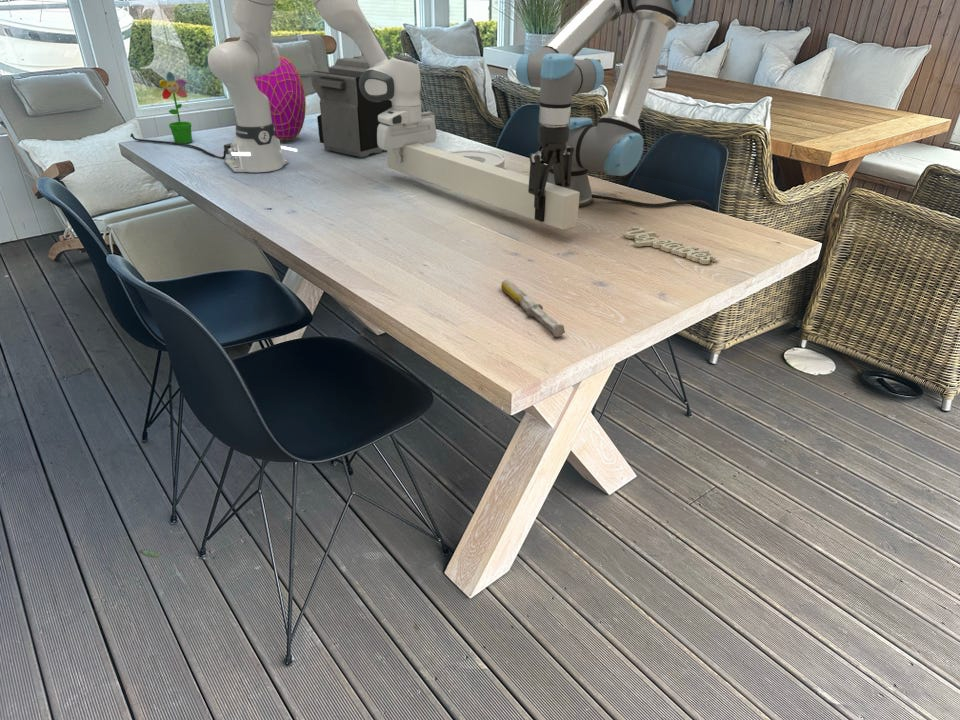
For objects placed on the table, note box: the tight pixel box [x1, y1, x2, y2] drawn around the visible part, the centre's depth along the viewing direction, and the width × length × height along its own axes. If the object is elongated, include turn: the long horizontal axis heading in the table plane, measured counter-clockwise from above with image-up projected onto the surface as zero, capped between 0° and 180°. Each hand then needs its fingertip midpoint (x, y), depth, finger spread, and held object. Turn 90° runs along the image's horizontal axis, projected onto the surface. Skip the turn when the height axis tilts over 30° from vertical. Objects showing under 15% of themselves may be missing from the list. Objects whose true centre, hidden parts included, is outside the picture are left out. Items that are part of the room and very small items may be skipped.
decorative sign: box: [624, 226, 717, 265], centre depth 170 cm, size 26×1×10 cm
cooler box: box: [310, 55, 392, 159], centre depth 250 cm, size 37×22×30 cm, turn 144°
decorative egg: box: [254, 55, 307, 142], centre depth 257 cm, size 19×19×30 cm
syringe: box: [500, 279, 566, 338], centre depth 139 cm, size 25×4×3 cm, turn 21°
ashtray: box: [449, 149, 505, 169], centre depth 228 cm, size 23×23×4 cm
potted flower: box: [158, 71, 193, 144], centre depth 254 cm, size 9×8×25 cm
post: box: [386, 143, 580, 231], centre depth 194 cm, size 76×5×8 cm, turn 41°
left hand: (408, 160), depth 214 cm, fingers closed on post, 5 cm apart
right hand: (547, 217), depth 176 cm, fingers closed on post, 5 cm apart
